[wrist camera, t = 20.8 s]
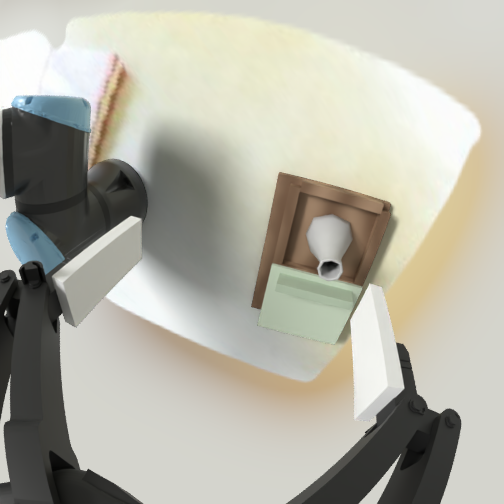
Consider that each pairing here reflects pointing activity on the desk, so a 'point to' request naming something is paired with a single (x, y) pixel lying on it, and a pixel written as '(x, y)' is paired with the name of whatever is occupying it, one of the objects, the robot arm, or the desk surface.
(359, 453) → the robot arm
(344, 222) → the flask
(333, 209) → the tray
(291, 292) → the cover
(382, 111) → the desk surface
